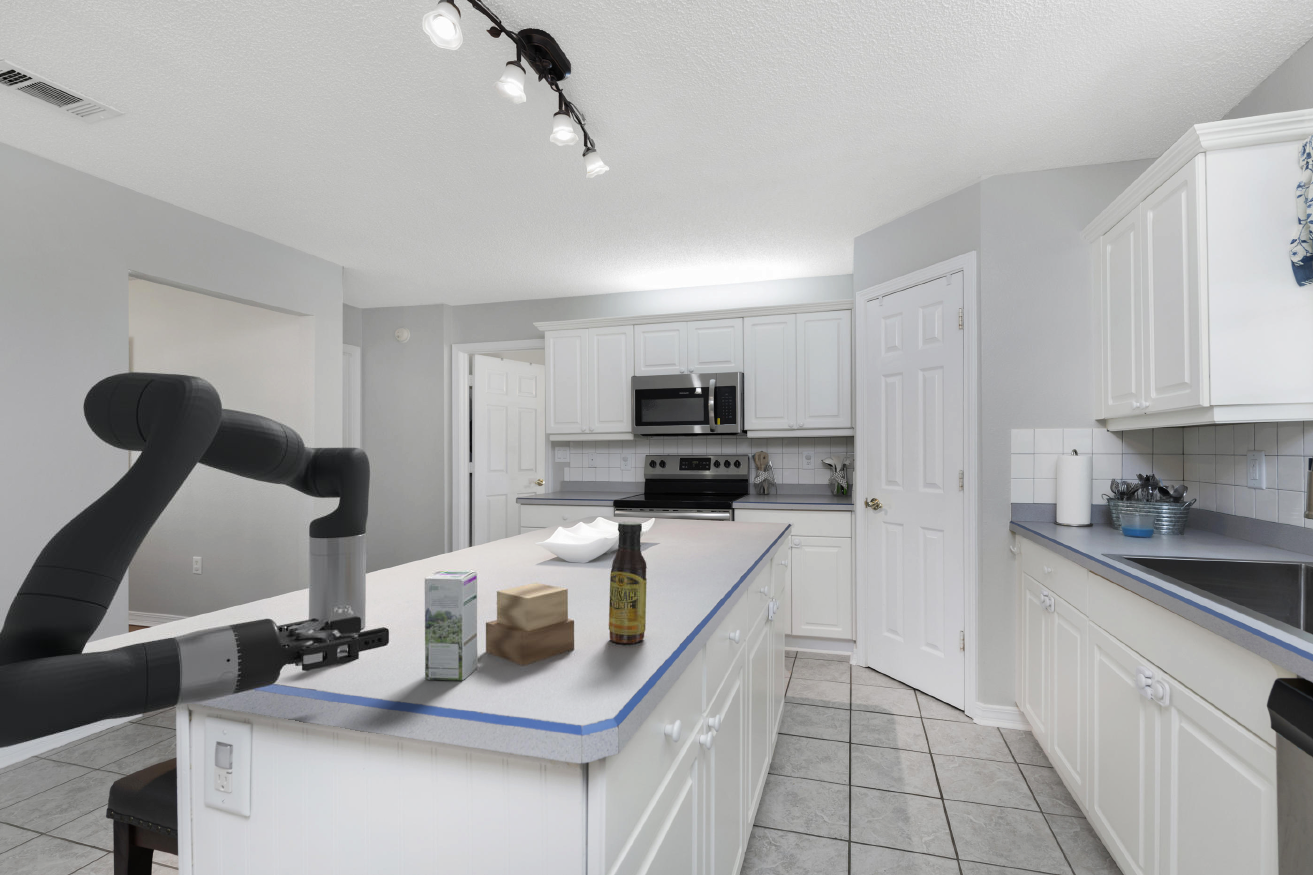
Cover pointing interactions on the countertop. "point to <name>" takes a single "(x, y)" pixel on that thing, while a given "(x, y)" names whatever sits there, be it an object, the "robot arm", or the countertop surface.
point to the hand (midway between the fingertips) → (373, 629)
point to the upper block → (532, 606)
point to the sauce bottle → (628, 587)
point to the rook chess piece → (340, 615)
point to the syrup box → (450, 625)
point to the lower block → (529, 641)
